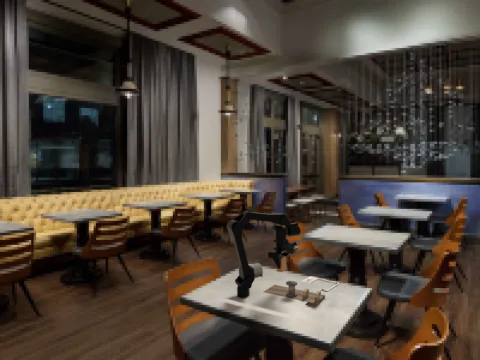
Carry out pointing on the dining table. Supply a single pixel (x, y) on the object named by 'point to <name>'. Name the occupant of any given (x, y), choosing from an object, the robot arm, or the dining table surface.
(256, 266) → the ceramic mug
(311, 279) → the photo frame
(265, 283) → the dining table surface
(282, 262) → the orange brown block
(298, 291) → the winding board
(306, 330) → the dining table surface
